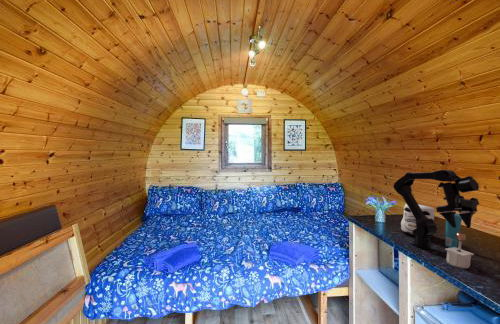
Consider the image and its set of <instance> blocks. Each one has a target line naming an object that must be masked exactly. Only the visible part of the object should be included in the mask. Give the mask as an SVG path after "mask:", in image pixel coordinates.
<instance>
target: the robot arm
mask: <svg viewBox="0 0 500 324" xmlns="http://www.w3.org/2000/svg"><path fill="white" fill-rule="evenodd" d="M415 180H433V181H438V182H440V183H439V184H438V185H437V188H442V190H443V193H444V197H443V200H444V201H446V204H444V205H439V206H438V205H437V206H436V210H435V211H436V213H439V215H441V216H442V217H443V218H444V219H445V221H446V220H447V221H448V222H449V224H450V225H451V226H452V227H453V228H456V223H455V218H454V215H455V213H457V212H458V214H459V215H460V217H461V218H462V222H463V223H464V226H465V227H466V228H467V229H469V228H471V226H472V225H471V224H472V217H473V216H474V215H475V214H476V212H477V213H478V209H477V208H478V206H479V205H480V202H479V199H478V198H477V197H470V198H465V197H464V196H463V195H461V193H463V194H464V193H470V192H476V191H479V190H480V188H479V187H480V185H479V182H477V181H476V179H474V177H473V176H471V175H469V176H468V175H467V176H465V177H461V176H459V175H458V174H456V172H455V171H454V170H452V169H440V170H439V169H438V170H434V171H432V172H430V171H429V172H427V171H426V172H406V173H405V174H404V175H403V176H401V177H400V178H398V180H396V181H395V182H394V183H393V189H394V191H395V192H396V193H397V194H398V195H400V196H401V197H402V199H403V200H404V201H405V204H407V205H408V207H409V209H410V210H411V212H412V214H413V215H414V217H415V219H416V226H417V228H416V229H414V230H413V231H412V232H413V235H415V236H414V241H413V243H411V245H412V246H414V247H416V248H419V249H422V250H430V249H432V246H431V245H432V240H431V237H433V236H434V235H435V234H436V233H437V231H438V228H437V226H438V225H437V224H436V223H435V220H433V219H428V218H427V217H426V216H425V215H424V213H423V211H422V210H421V208H420V207H419V205H420V204H419V203H418V202H417V199H415V197H414V195H413V191H412V185H414V182H415ZM418 204H419V205H418Z"/></svg>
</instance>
